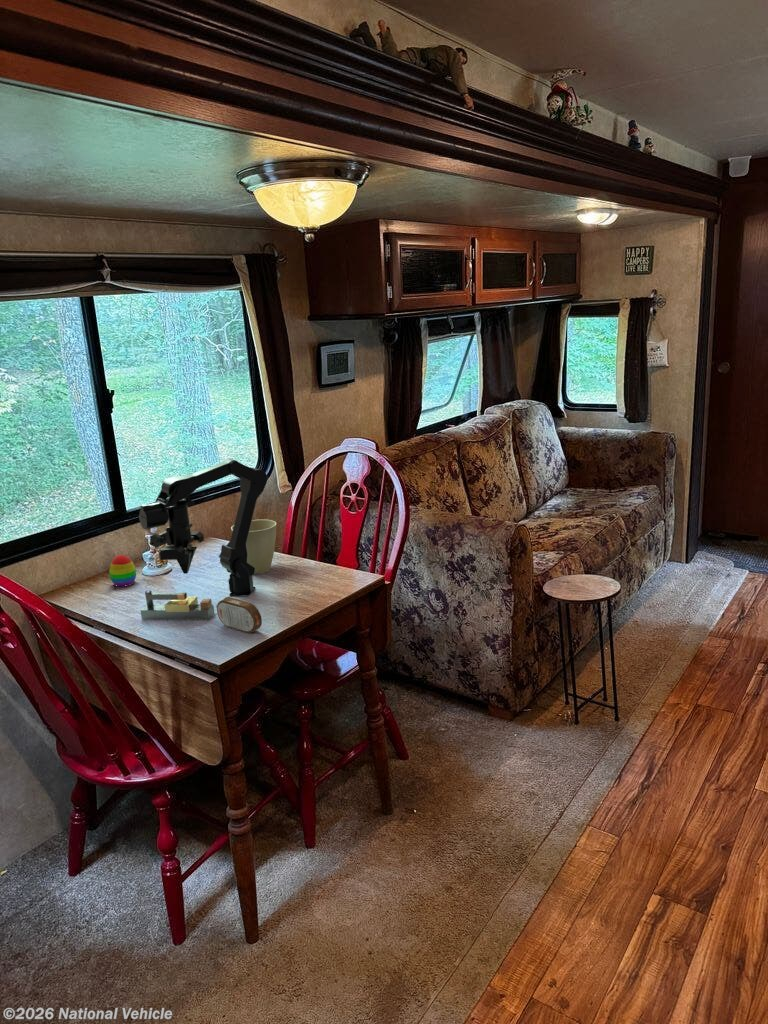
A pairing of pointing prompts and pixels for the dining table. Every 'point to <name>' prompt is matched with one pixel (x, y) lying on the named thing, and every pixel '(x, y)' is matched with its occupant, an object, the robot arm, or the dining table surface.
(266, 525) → the plant pot
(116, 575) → the decorative egg
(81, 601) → the dining table surface
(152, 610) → the plane body
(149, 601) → the cam lever
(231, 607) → the tin
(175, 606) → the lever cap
